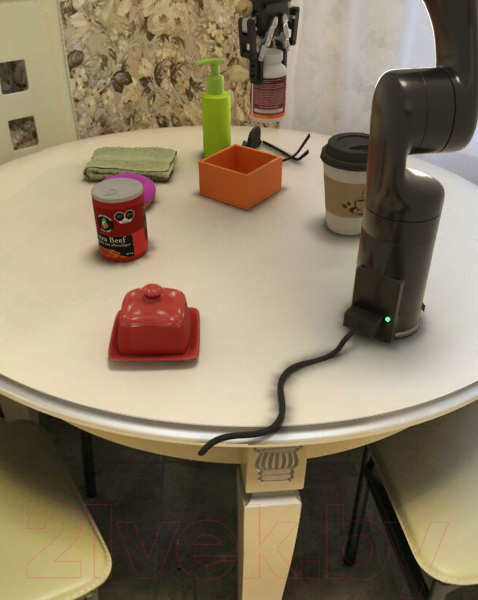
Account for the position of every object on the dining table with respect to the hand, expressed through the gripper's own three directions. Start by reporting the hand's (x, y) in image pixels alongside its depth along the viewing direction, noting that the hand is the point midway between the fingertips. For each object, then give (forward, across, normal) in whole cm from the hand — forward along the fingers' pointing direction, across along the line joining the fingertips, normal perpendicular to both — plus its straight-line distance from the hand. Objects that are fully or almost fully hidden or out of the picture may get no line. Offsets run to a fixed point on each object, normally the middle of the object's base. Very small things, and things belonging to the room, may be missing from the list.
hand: (268, 78), depth 103 cm
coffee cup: (+22, 0, -18) cm, 28 cm away
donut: (+22, -17, +19) cm, 34 cm away
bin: (+22, -1, +5) cm, 23 cm away
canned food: (+22, -30, +7) cm, 38 cm away
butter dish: (+22, -43, -13) cm, 50 cm away
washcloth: (+22, -6, +29) cm, 37 cm away
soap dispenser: (+22, +10, +20) cm, 32 cm away
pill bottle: (+7, 0, 0) cm, 7 cm away
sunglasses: (+22, +16, +8) cm, 29 cm away
